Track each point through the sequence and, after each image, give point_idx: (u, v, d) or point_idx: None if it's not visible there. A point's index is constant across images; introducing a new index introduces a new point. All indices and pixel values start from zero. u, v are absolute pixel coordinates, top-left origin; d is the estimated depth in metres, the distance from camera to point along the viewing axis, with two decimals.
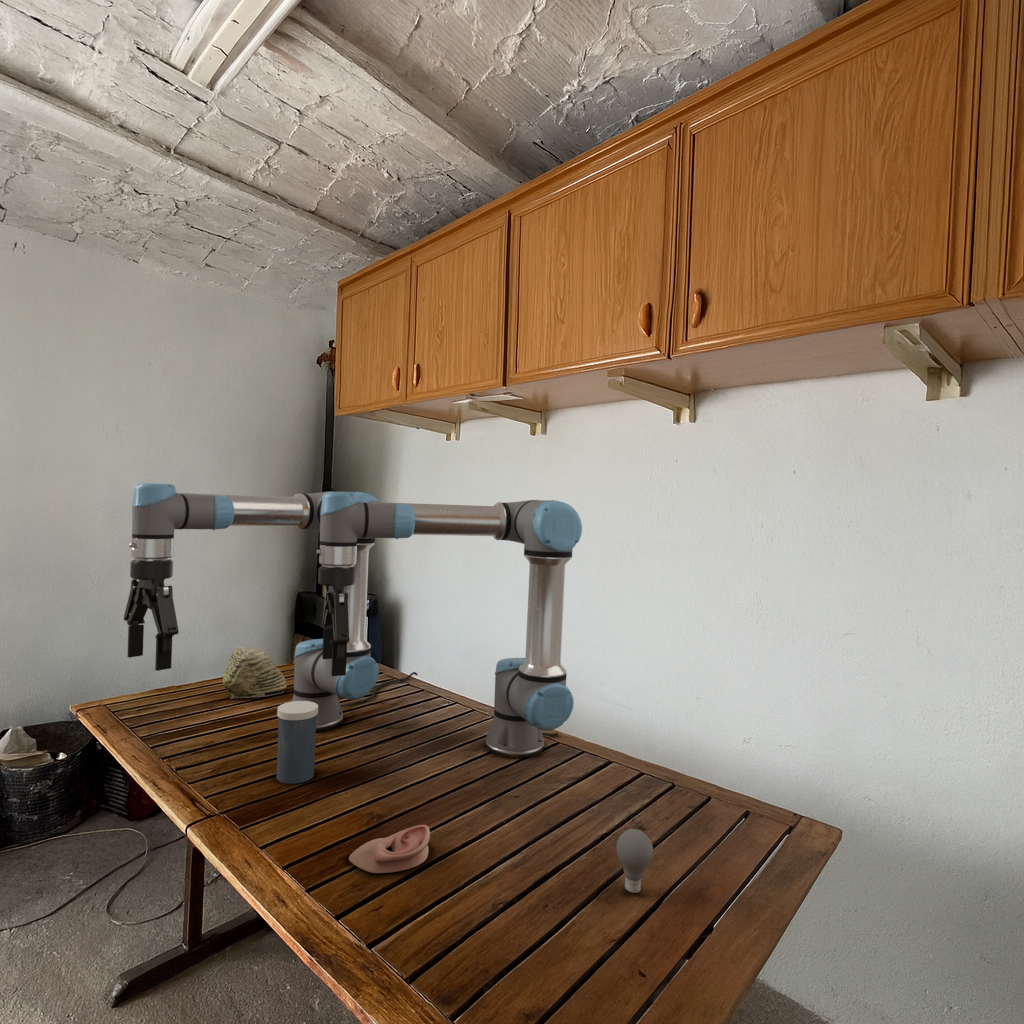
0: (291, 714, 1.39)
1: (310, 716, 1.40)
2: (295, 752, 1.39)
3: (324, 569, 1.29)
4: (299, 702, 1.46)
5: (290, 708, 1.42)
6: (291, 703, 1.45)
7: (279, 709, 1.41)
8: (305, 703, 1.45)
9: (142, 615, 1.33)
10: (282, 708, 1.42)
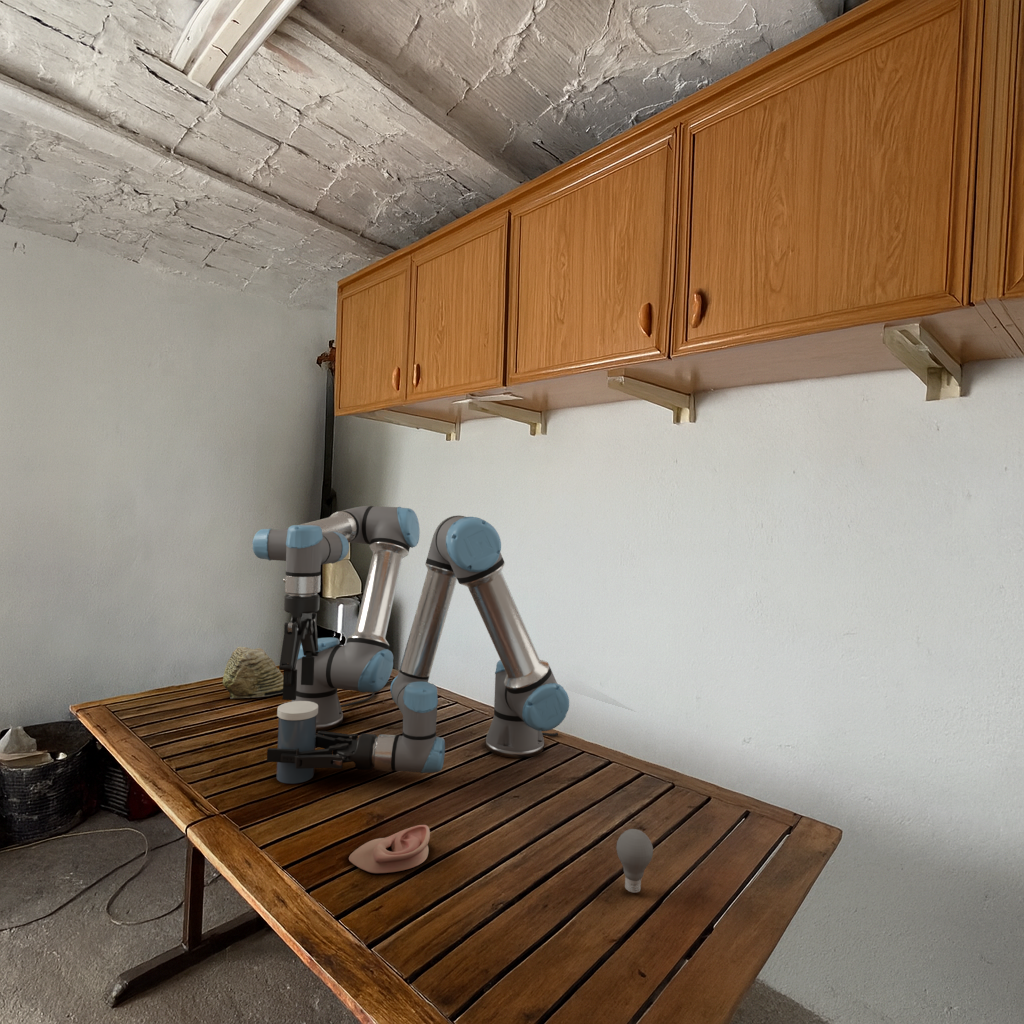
0: (291, 714, 1.39)
1: (310, 716, 1.40)
2: None
3: None
4: (299, 702, 1.46)
5: (290, 708, 1.42)
6: (291, 703, 1.45)
7: (279, 709, 1.41)
8: (305, 703, 1.45)
9: (310, 647, 1.47)
10: (282, 708, 1.42)
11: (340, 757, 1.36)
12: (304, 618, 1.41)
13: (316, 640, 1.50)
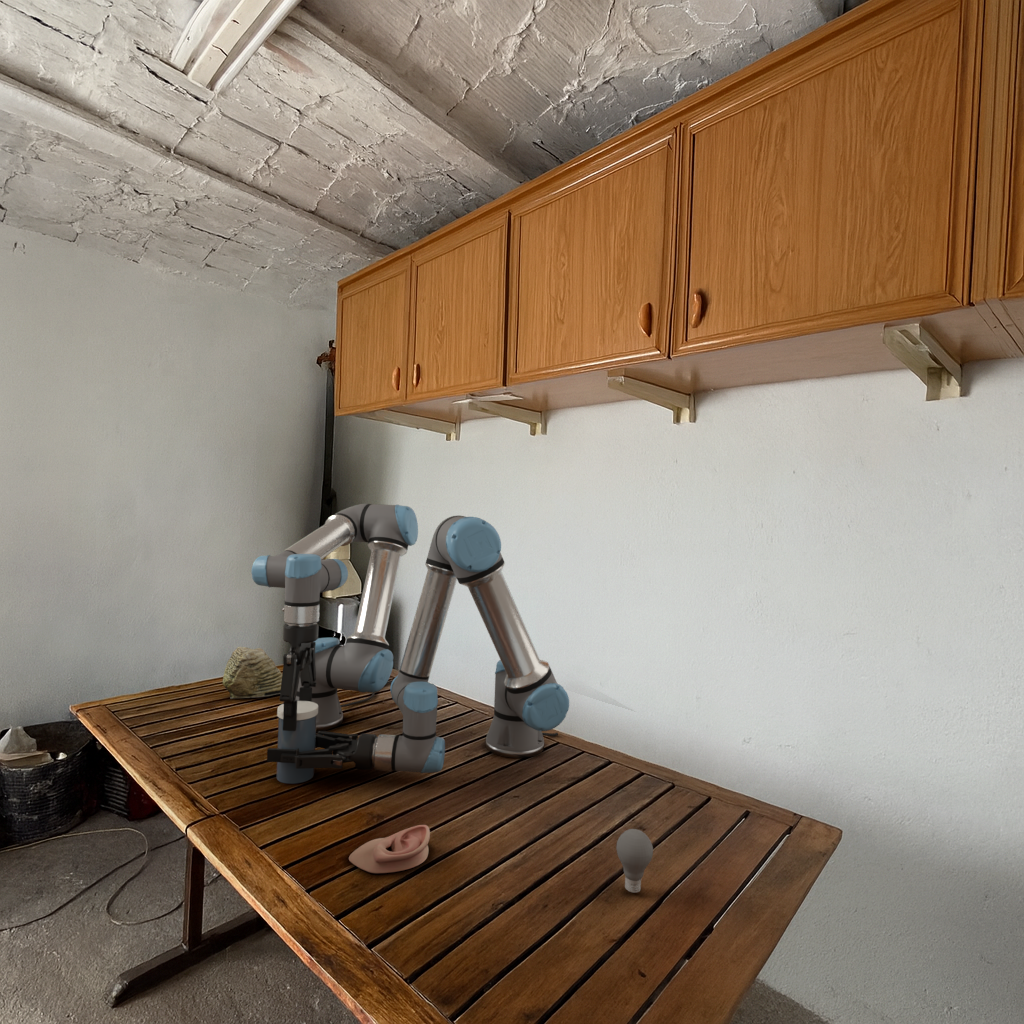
0: None
1: (310, 716, 1.40)
2: None
3: None
4: (299, 702, 1.46)
5: None
6: None
7: (279, 709, 1.41)
8: (305, 703, 1.45)
9: (308, 677, 1.47)
10: (282, 708, 1.42)
11: (340, 757, 1.36)
12: (303, 648, 1.41)
13: (314, 670, 1.50)
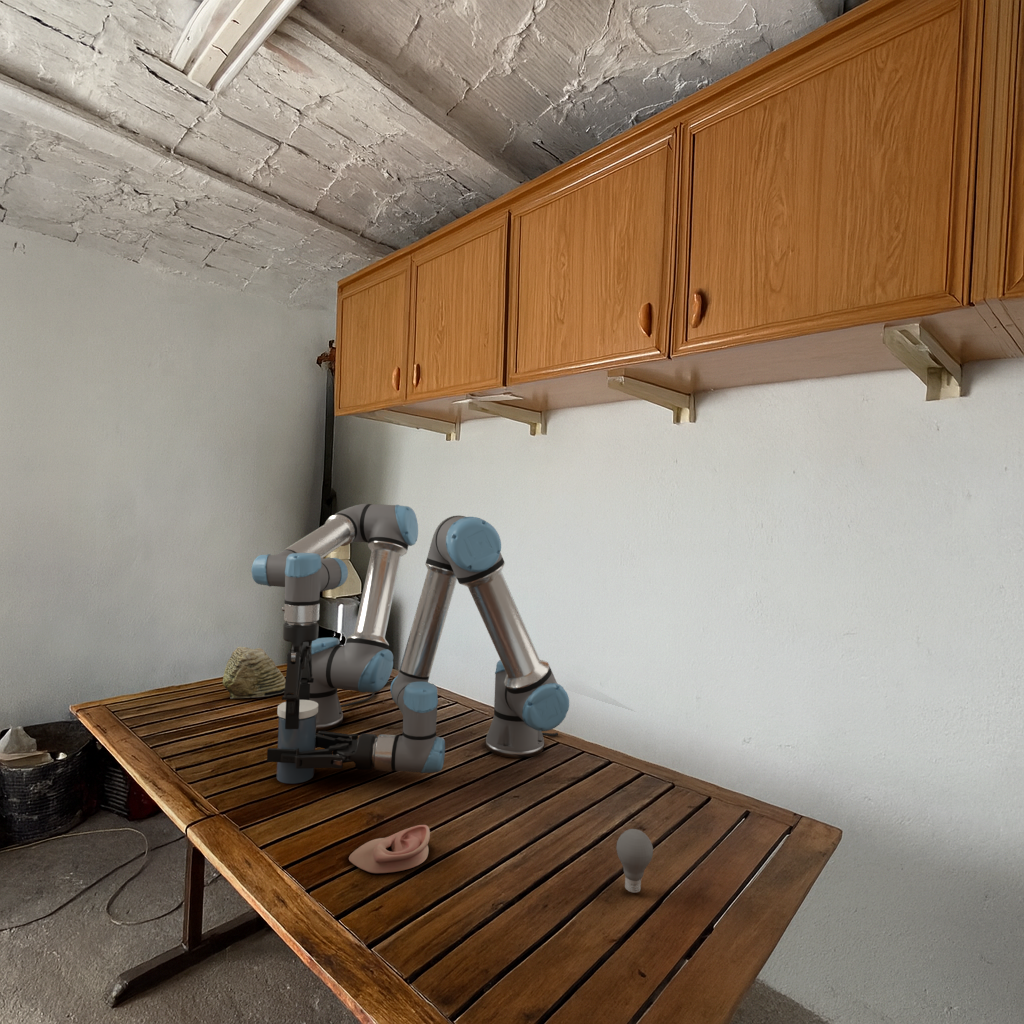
0: (315, 708, 1.42)
1: None
2: None
3: None
4: (284, 705, 1.43)
5: (299, 708, 1.41)
6: (284, 707, 1.41)
7: None
8: None
9: (306, 674, 1.47)
10: None
11: (340, 757, 1.36)
12: (304, 647, 1.42)
13: (311, 666, 1.50)
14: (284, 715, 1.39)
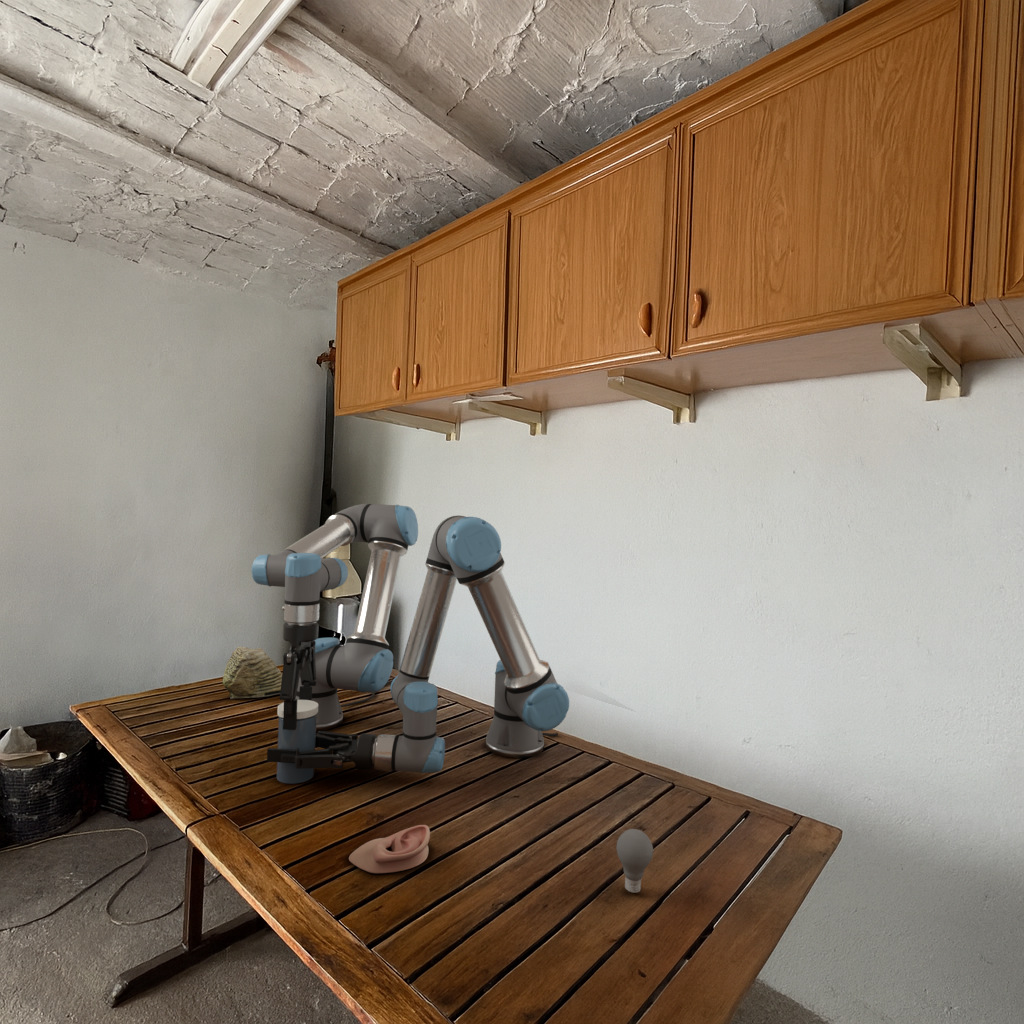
0: (315, 708, 1.42)
1: None
2: None
3: None
4: None
5: (299, 708, 1.41)
6: None
7: (298, 711, 1.39)
8: None
9: (308, 676, 1.47)
10: None
11: (340, 757, 1.36)
12: (303, 647, 1.41)
13: (314, 669, 1.50)
14: None
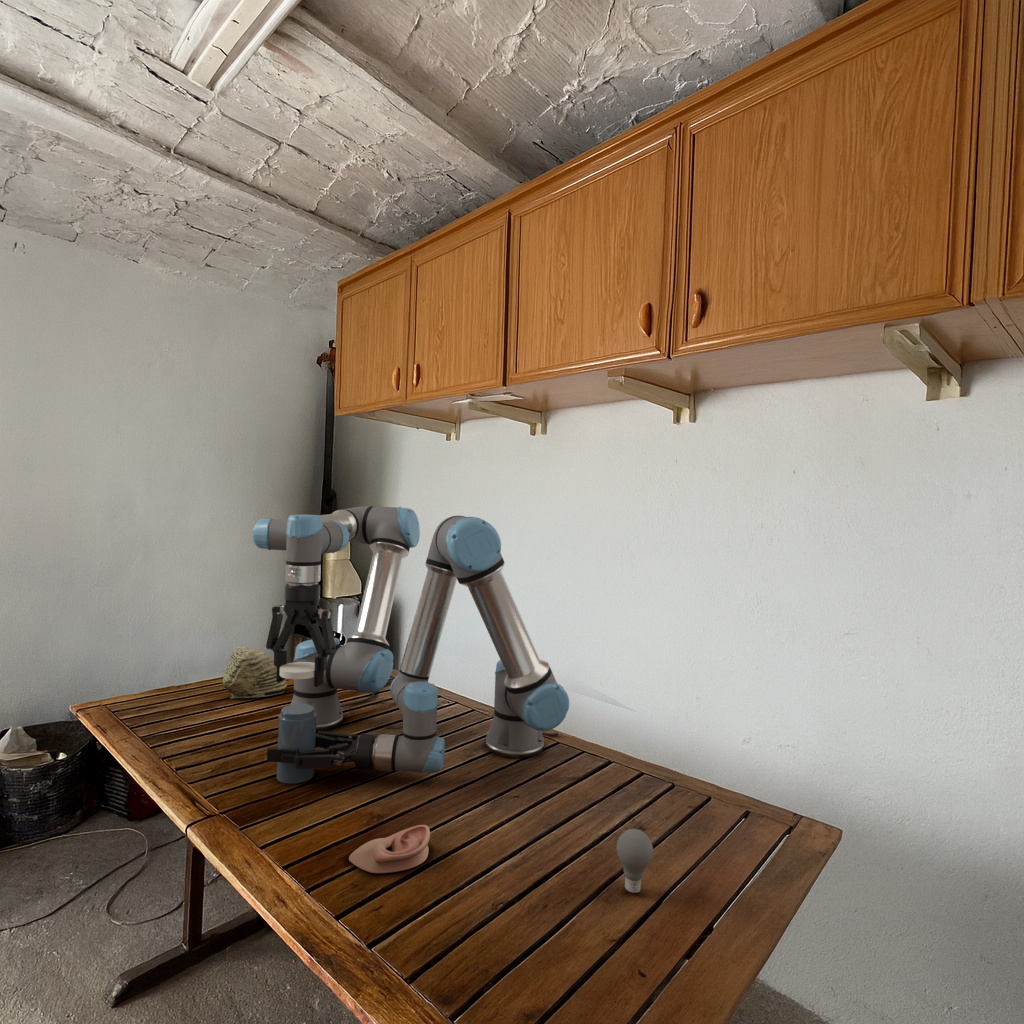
0: None
1: None
2: None
3: None
4: (293, 670, 1.40)
5: (308, 666, 1.44)
6: (301, 670, 1.40)
7: None
8: (289, 669, 1.41)
9: (286, 640, 1.44)
10: None
11: (340, 757, 1.36)
12: None
13: None
14: (312, 674, 1.41)
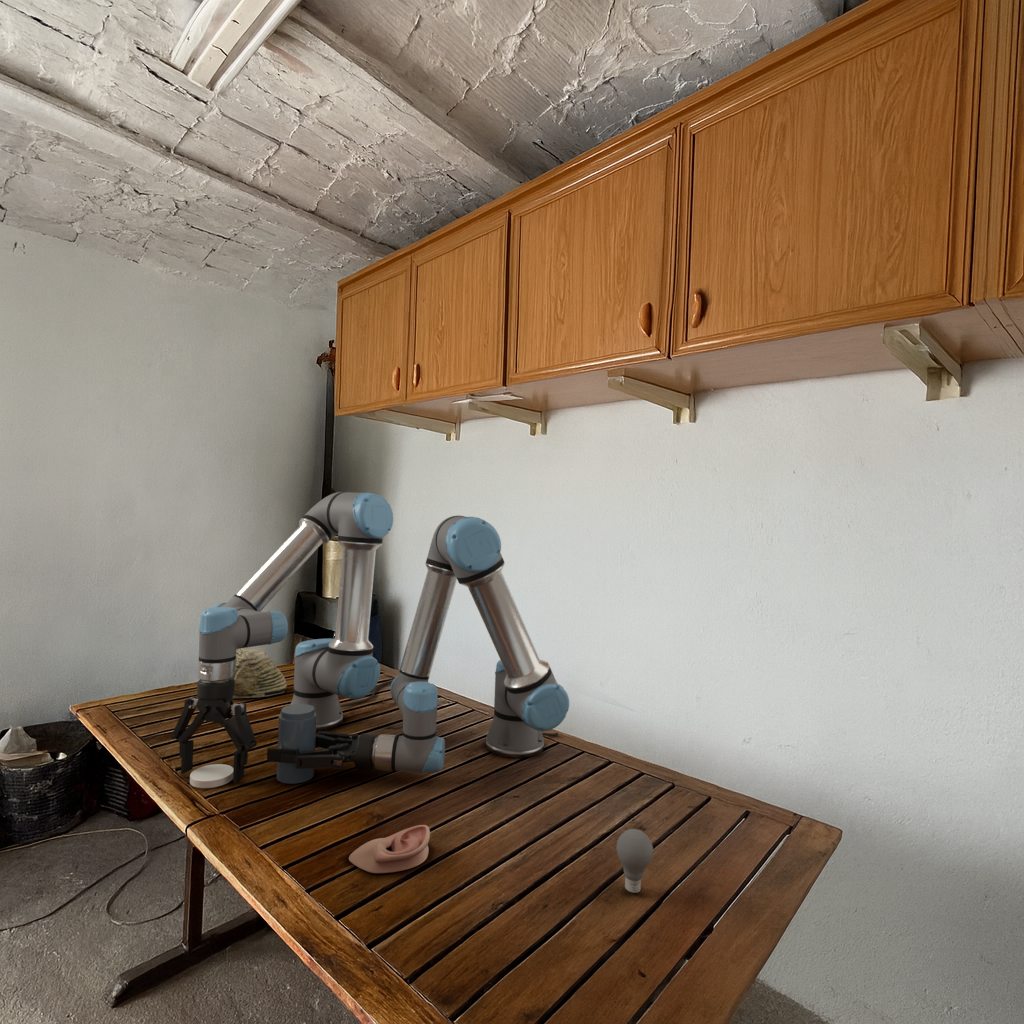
0: None
1: None
2: None
3: None
4: (203, 778, 1.36)
5: (220, 771, 1.40)
6: (211, 778, 1.37)
7: (231, 771, 1.40)
8: (199, 776, 1.37)
9: (194, 731, 1.41)
10: (227, 773, 1.40)
11: (340, 757, 1.36)
12: None
13: None
14: (223, 781, 1.37)
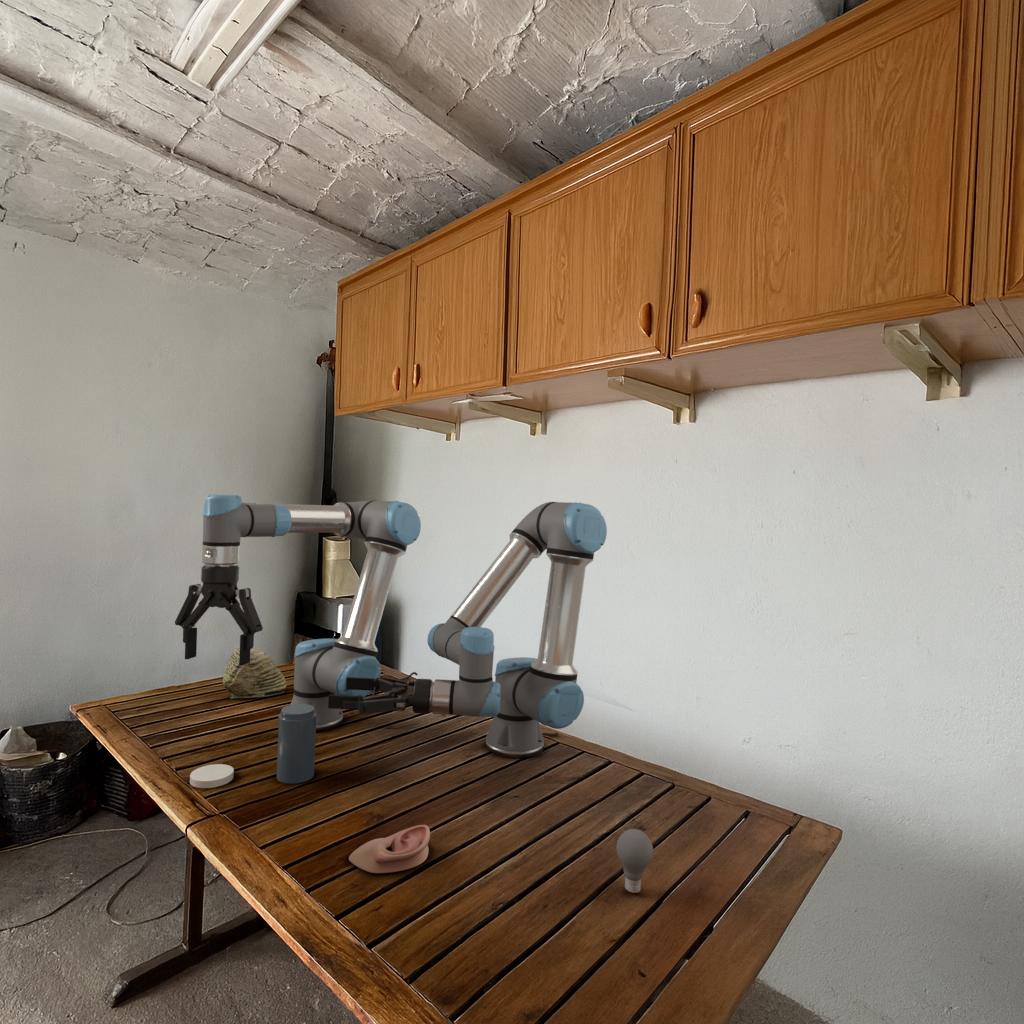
0: None
1: None
2: (296, 752, 1.39)
3: None
4: (203, 778, 1.36)
5: (220, 771, 1.40)
6: (211, 778, 1.37)
7: (231, 771, 1.40)
8: (199, 776, 1.37)
9: (198, 618, 1.41)
10: (227, 773, 1.40)
11: (404, 699, 1.36)
12: None
13: None
14: (223, 781, 1.37)
